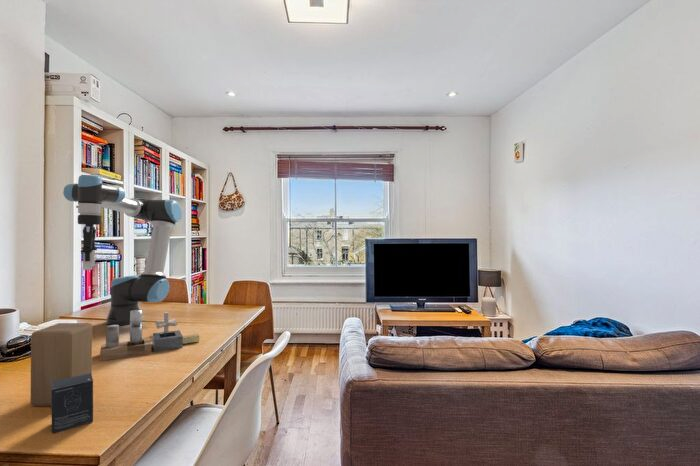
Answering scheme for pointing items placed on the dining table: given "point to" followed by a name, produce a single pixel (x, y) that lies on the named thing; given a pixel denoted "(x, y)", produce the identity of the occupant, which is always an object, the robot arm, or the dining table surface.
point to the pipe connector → (166, 322)
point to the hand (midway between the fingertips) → (89, 268)
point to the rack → (121, 346)
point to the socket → (167, 340)
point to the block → (58, 357)
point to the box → (72, 402)
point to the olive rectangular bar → (190, 338)
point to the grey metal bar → (135, 327)
